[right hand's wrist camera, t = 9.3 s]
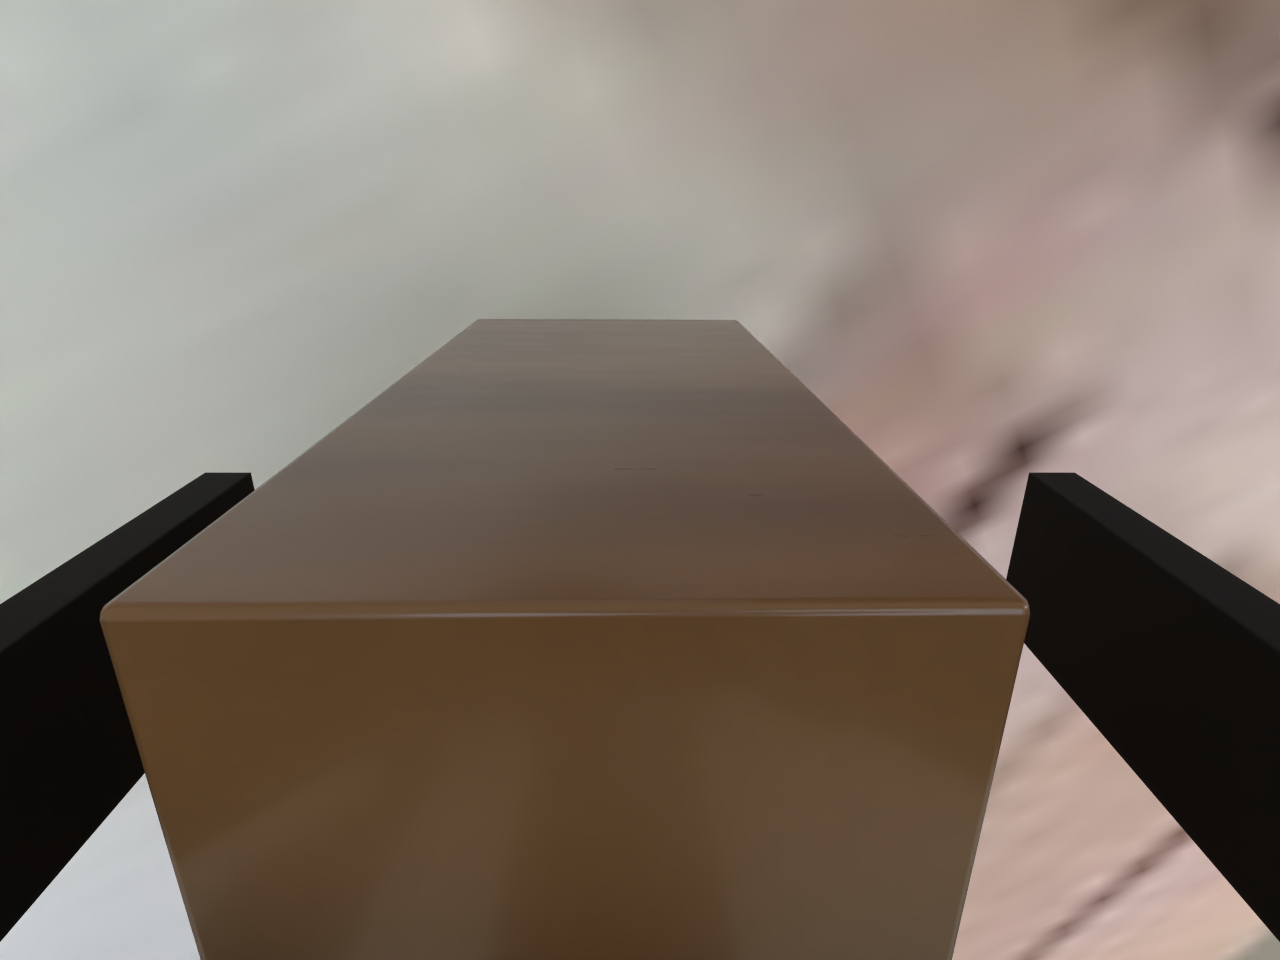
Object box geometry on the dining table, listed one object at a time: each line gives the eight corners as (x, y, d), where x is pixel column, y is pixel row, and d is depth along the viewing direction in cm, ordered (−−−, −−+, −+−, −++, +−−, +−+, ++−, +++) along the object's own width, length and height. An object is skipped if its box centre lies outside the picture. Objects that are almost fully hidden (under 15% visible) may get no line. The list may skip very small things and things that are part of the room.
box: (476, 318, 16) (88, 609, 4) (738, 319, 17) (1040, 602, 5) (526, 1012, 25) (437, 1763, 13) (701, 1008, 25) (774, 1747, 13)
